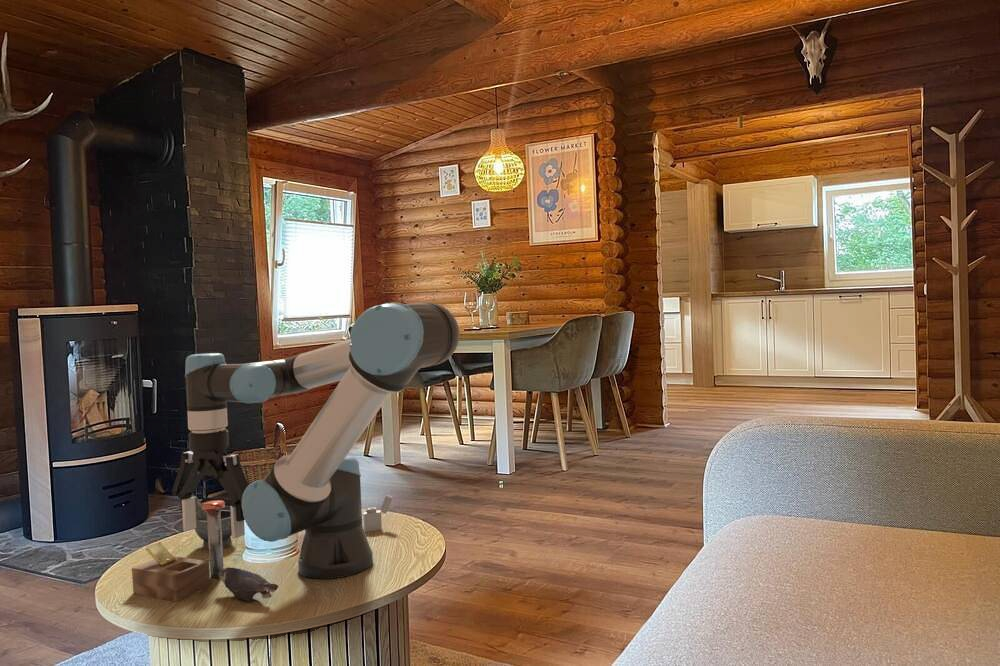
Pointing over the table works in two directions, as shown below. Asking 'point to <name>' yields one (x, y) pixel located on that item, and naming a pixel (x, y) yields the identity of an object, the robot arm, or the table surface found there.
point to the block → (171, 578)
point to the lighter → (375, 516)
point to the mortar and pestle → (203, 528)
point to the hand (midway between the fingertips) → (213, 533)
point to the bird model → (246, 583)
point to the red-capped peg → (214, 536)
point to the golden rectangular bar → (160, 554)
